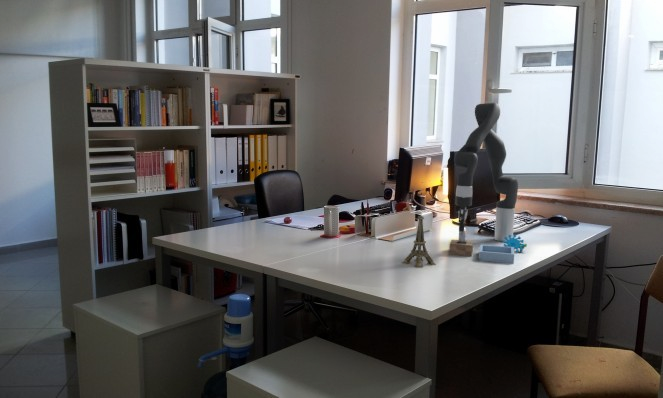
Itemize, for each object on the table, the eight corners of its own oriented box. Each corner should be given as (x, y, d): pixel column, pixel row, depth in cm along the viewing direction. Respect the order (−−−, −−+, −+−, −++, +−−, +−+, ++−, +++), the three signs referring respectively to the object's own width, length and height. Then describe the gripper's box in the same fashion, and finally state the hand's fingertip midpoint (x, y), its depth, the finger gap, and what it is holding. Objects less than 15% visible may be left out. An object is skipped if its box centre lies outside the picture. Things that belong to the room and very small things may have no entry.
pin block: (451, 249, 275) (451, 239, 274) (472, 251, 272) (473, 241, 272) (449, 254, 266) (449, 243, 265) (471, 256, 263) (472, 245, 262)
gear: (501, 248, 272) (504, 231, 277) (499, 255, 277) (502, 238, 282) (525, 253, 269) (528, 236, 275) (523, 260, 274) (526, 243, 279)
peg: (458, 251, 271) (459, 227, 269) (464, 252, 270) (465, 227, 268) (457, 253, 268) (458, 228, 266) (464, 253, 267) (465, 228, 265)
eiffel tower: (418, 268, 241) (421, 209, 237) (401, 262, 249) (403, 206, 245) (436, 264, 247) (438, 207, 243) (418, 259, 255) (421, 204, 252)
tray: (480, 252, 270) (480, 244, 269) (513, 255, 266) (513, 247, 265) (478, 260, 256) (479, 251, 255) (513, 263, 251) (514, 254, 251)
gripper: (457, 193, 273) (455, 226, 275) (454, 196, 259) (452, 231, 262) (473, 194, 271) (471, 227, 273) (471, 197, 257) (469, 233, 260)
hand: (461, 229), depth 267 cm, fingers open, 8 cm apart
